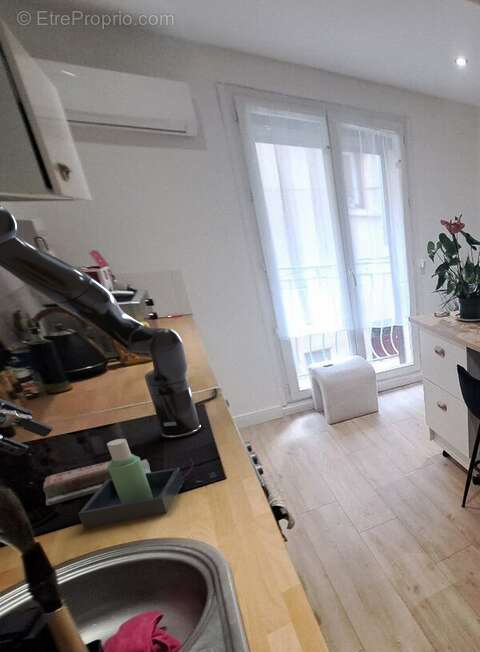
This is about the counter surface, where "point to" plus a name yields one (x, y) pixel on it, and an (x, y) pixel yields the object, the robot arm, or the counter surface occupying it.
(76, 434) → the counter surface
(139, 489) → the bottle
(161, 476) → the tray
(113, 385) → the counter surface
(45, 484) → the packaged product
